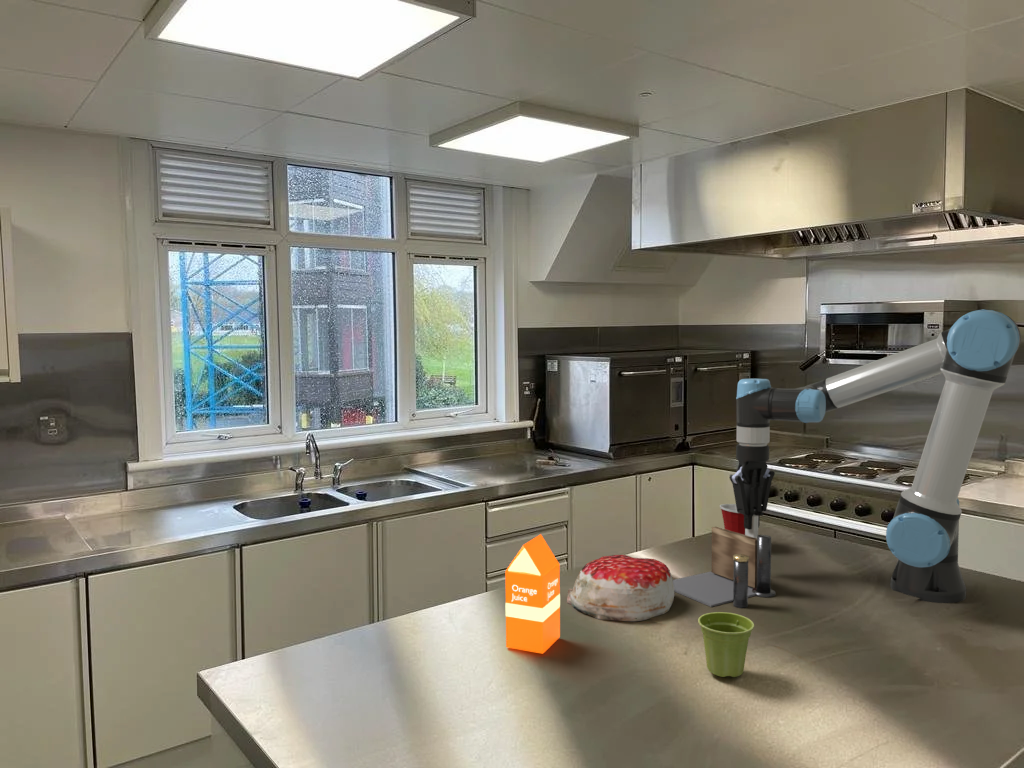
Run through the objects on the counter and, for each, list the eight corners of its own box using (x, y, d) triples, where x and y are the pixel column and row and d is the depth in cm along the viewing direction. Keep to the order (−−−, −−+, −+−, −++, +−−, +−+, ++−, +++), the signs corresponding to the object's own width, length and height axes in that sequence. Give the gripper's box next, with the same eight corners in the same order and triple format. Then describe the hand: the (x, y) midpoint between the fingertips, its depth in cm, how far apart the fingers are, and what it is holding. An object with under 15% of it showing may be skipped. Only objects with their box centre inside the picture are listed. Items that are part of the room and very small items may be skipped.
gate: (758, 587, 175) (759, 539, 175) (754, 588, 175) (754, 540, 174) (715, 571, 187) (715, 526, 186) (711, 572, 186) (711, 527, 186)
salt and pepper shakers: (786, 597, 171) (787, 539, 170) (740, 609, 164) (741, 548, 163) (762, 588, 177) (763, 532, 176) (717, 599, 170) (717, 541, 169)
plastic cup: (770, 553, 204) (770, 508, 203) (736, 558, 200) (737, 512, 199) (743, 543, 214) (743, 500, 213) (710, 547, 210) (711, 504, 209)
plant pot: (763, 669, 135) (764, 621, 134) (736, 688, 128) (737, 636, 127) (715, 654, 141) (715, 608, 141) (687, 671, 135) (687, 622, 134)
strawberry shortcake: (671, 585, 180) (671, 543, 180) (677, 624, 156) (677, 576, 156) (572, 581, 184) (571, 540, 183) (563, 619, 160) (563, 572, 159)
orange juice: (560, 636, 150) (560, 535, 149) (543, 654, 142) (542, 547, 141) (524, 630, 154) (523, 531, 152) (504, 647, 146) (503, 542, 144)
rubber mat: (766, 592, 174) (766, 591, 174) (710, 606, 165) (710, 605, 165) (711, 572, 188) (711, 571, 188) (658, 584, 180) (658, 583, 180)
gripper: (759, 439, 190) (758, 534, 191) (721, 444, 183) (720, 542, 185) (784, 443, 183) (782, 541, 185) (745, 448, 177) (744, 549, 178)
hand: (751, 541), depth 185 cm, fingers closed
